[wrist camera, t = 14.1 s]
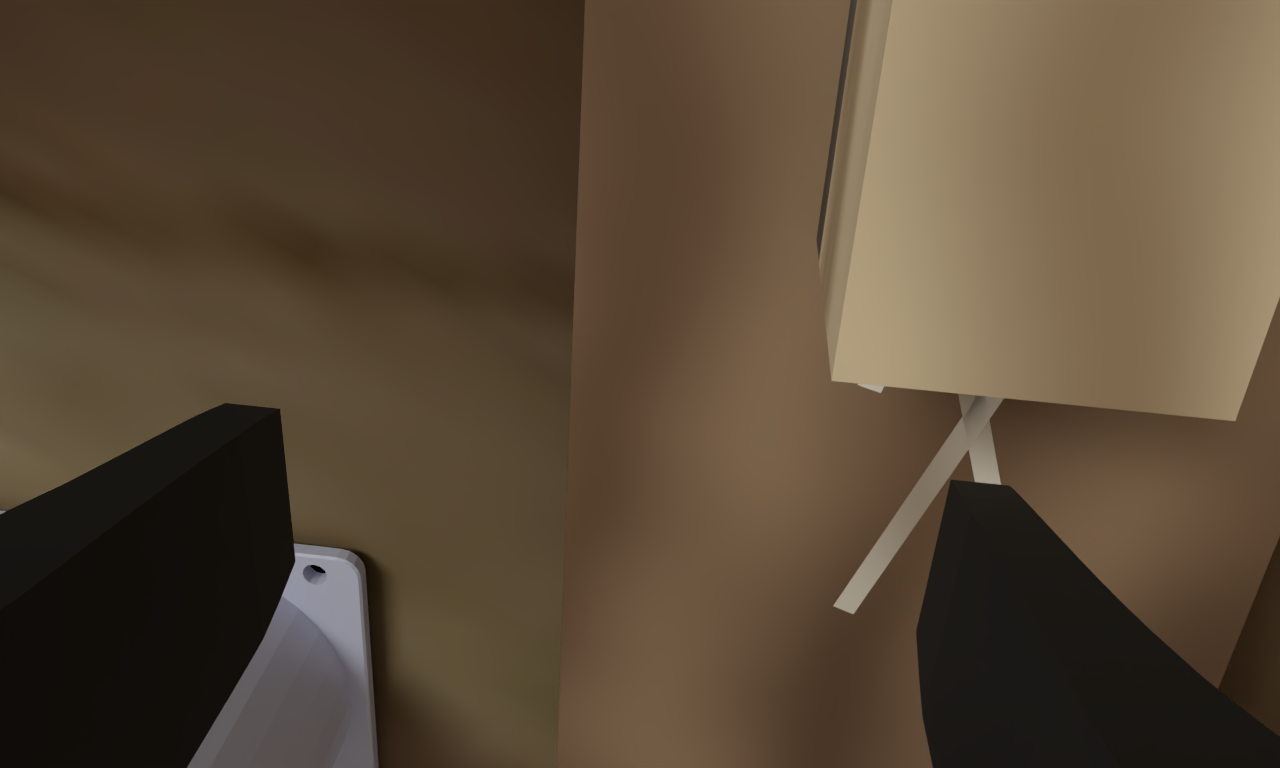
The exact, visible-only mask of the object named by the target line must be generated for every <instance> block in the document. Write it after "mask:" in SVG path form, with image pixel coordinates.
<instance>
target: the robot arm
mask: <svg viewBox="0 0 1280 768" xmlns="http://www.w3.org/2000/svg"><path fill="white" fill-rule="evenodd" d="M310 565H316V566H319V567H321V568H322V569H323V570H324V571H325V572H326V573H319V572H316V571H315V570H314V569H313V568H311V566H310ZM916 639H917V654H918V669H919V683H920V695H921V706H922V717H923V722H924V727H925V732H926V737H927V742H928V747H929V751H930V756H931V761H932V766H933V768H1280V737H1279V736H1277V735H1276V734H1275V733H1273V732H1272V731H1271V730H1269V729H1268V728H1267V727H1266V726H1264V725H1263V724H1262V723H1260V722H1259V721H1258V720H1256V719H1255V718H1254V717H1253V716H1251V715H1250V714H1249V713H1247V712H1246V711H1245V710H1244V709H1242V708H1241V707H1240V706H1238V705H1237V704H1236V703H1234V702H1233V701H1232V700H1231V699H1229V698H1228V697H1227V696H1225V695H1224V694H1223V693H1222V692H1221V691H1219V690H1218V689H1217V688H1216V687H1215V686H1213V685H1212V684H1211V683H1210V682H1209V681H1207V680H1206V679H1205V678H1204V677H1203V676H1201V675H1200V674H1199V673H1198V672H1197V671H1196V670H1195V669H1193V668H1192V667H1191V666H1190V665H1189V664H1188V663H1187V662H1186V661H1185V660H1183V659H1182V658H1181V657H1180V656H1179V655H1178V654H1177V653H1176V652H1175V651H1173V650H1172V649H1171V648H1170V647H1169V646H1168V645H1167V644H1166V643H1164V642H1163V641H1162V640H1161V639H1160V638H1159V637H1158V636H1157V635H1156V634H1154V633H1153V632H1152V631H1151V630H1150V629H1149V628H1148V627H1147V626H1146V625H1145V624H1144V623H1143V622H1142V621H1141V620H1140V619H1139V618H1138V617H1137V616H1136V615H1134V614H1133V613H1132V612H1131V611H1130V610H1129V609H1128V608H1127V607H1126V606H1125V605H1124V604H1123V603H1122V602H1121V601H1120V600H1119V599H1118V598H1117V597H1116V596H1115V595H1114V594H1113V593H1112V592H1111V591H1110V590H1109V589H1108V588H1107V587H1106V586H1105V585H1104V584H1103V583H1102V582H1101V581H1100V580H1099V579H1098V578H1097V577H1096V576H1095V575H1094V574H1093V572H1092V571H1091V570H1090V569H1089V568H1088V567H1087V566H1086V565H1085V564H1084V563H1083V562H1082V561H1081V560H1080V559H1079V558H1078V557H1077V556H1076V555H1075V554H1074V553H1073V551H1072V550H1071V549H1070V548H1069V547H1068V546H1067V545H1066V544H1065V543H1064V542H1063V541H1062V540H1061V539H1060V538H1059V537H1058V535H1057V534H1056V533H1055V532H1054V531H1053V530H1052V529H1051V528H1050V527H1049V526H1048V525H1047V524H1046V523H1045V521H1044V520H1043V519H1042V518H1041V517H1040V516H1039V515H1038V514H1037V513H1036V512H1035V511H1034V510H1033V509H1032V508H1031V506H1030V505H1029V504H1028V503H1027V502H1026V501H1025V500H1024V499H1023V498H1022V497H1021V496H1020V495H1019V494H1018V493H1017V492H1016V491H1015V490H1014V489H1013V488H1012V487H1011V486H1008V485H999V484H989V483H980V482H970V481H961V480H951V481H950V485H949V489H948V494H947V498H946V502H945V507H944V511H943V516H942V520H941V524H940V529H939V533H938V538H937V542H936V546H935V551H934V555H933V559H932V564H931V568H930V573H929V577H928V581H927V586H926V590H925V594H924V599H923V603H922V608H921V612H920V616H919V621H918V625H917V630H916ZM0 768H379V765H378V750H377V735H376V720H375V705H374V690H373V675H372V660H371V645H370V630H369V615H368V600H367V585H366V570H365V567H364V563H363V562H362V560H361V559H360V558H359V557H358V556H357V555H355V554H354V553H352V552H351V551H348V550H344V549H339V548H330V547H321V546H312V545H303V544H294V541H293V532H292V522H291V512H290V502H289V493H288V483H287V473H286V463H285V454H284V444H283V434H282V424H281V415H280V409H276V408H266V407H257V406H247V405H238V404H228V403H225V404H223V405H220V406H218V407H215V408H213V409H210V410H208V411H206V412H204V413H201V414H199V415H197V416H195V417H193V418H191V419H189V420H187V421H185V422H183V423H181V424H179V425H177V426H175V427H173V428H171V429H169V430H167V431H165V432H164V433H162V434H160V435H158V436H156V437H154V438H152V439H150V440H148V441H146V442H144V443H143V444H141V445H139V446H137V447H135V448H133V449H131V450H129V451H127V452H125V453H123V454H121V455H120V456H118V457H116V458H114V459H112V460H110V461H108V462H106V463H104V464H102V465H100V466H98V467H96V468H94V469H93V470H91V471H89V472H87V473H85V474H83V475H81V476H79V477H77V478H75V479H73V480H71V481H69V482H67V483H65V484H63V485H61V486H59V487H57V488H55V489H53V490H51V491H49V492H46V493H44V494H42V495H40V496H38V497H36V498H34V499H32V500H29V501H27V502H25V503H23V504H21V505H19V506H17V507H15V508H13V509H10V510H8V511H0Z"/></svg>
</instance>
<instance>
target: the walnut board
mask: <svg viewBox="0 0 1280 768" xmlns="http://www.w3.org/2000/svg"><path fill="white" fill-rule="evenodd" d="M850 2H851V0H585V20H584V47H583V74H582V101H581V128H580V155H579V182H578V209H577V236H576V263H575V290H574V317H573V344H572V371H571V397H570V424H569V451H568V478H567V505H566V532H565V559H564V586H563V613H562V640H561V667H560V694H559V721H558V748H557V768H933V766H932V761H931V756H930V751H929V747H928V742H927V737H926V732H925V727H924V722H923V717H922V706H921V695H920V683H919V669H918V654H917V639H916V630H917V625H918V621H919V616H920V612H921V608H922V603H923V599H924V594H925V590H926V586H927V581H928V577H929V573H930V568H931V564H932V559H933V555H934V551H935V546H936V542H937V538H938V533H939V529H940V524H941V520H942V516H943V511H944V507H945V502H946V498H947V494H948V489H949V485H950V481H951V480H961V481H970V482H980V483H989V484H999V485H1008V486H1011V487H1012V488H1013V489H1014V490H1015V491H1016V492H1017V493H1018V494H1019V495H1020V496H1021V497H1022V498H1023V499H1024V500H1025V501H1026V502H1027V503H1028V504H1029V505H1030V506H1031V508H1032V509H1033V510H1034V511H1035V512H1036V513H1037V514H1038V515H1039V516H1040V517H1041V518H1042V519H1043V520H1044V521H1045V523H1046V524H1047V525H1048V526H1049V527H1050V528H1051V529H1052V530H1053V531H1054V532H1055V533H1056V534H1057V535H1058V537H1059V538H1060V539H1061V540H1062V541H1063V542H1064V543H1065V544H1066V545H1067V546H1068V547H1069V548H1070V549H1071V550H1072V551H1073V553H1074V554H1075V555H1076V556H1077V557H1078V558H1079V559H1080V560H1081V561H1082V562H1083V563H1084V564H1085V565H1086V566H1087V567H1088V568H1089V569H1090V570H1091V571H1092V572H1093V574H1094V575H1095V576H1096V577H1097V578H1098V579H1099V580H1100V581H1101V582H1102V583H1103V584H1104V585H1105V586H1106V587H1107V588H1108V589H1109V590H1110V591H1111V592H1112V593H1113V594H1114V595H1115V596H1116V597H1117V598H1118V599H1119V600H1120V601H1121V602H1122V603H1123V604H1124V605H1125V606H1126V607H1127V608H1128V609H1129V610H1130V611H1131V612H1132V613H1133V614H1134V615H1136V616H1137V617H1138V618H1139V619H1140V620H1141V621H1142V622H1143V623H1144V624H1145V625H1146V626H1147V627H1148V628H1149V629H1150V630H1151V631H1152V632H1153V633H1154V634H1156V635H1157V636H1158V637H1159V638H1160V639H1161V640H1162V641H1163V642H1164V643H1166V644H1167V645H1168V646H1169V647H1170V648H1171V649H1172V650H1173V651H1175V652H1176V653H1177V654H1178V655H1179V656H1180V657H1181V658H1182V659H1183V660H1185V661H1186V662H1187V663H1188V664H1189V665H1190V666H1191V667H1192V668H1193V669H1195V670H1196V671H1197V672H1198V673H1199V674H1200V675H1201V676H1203V677H1204V678H1205V679H1206V680H1207V681H1209V682H1210V683H1211V684H1212V685H1213V686H1215V687H1216V688H1217V689H1218V688H1219V685H1220V683H1221V680H1222V678H1223V675H1224V673H1225V671H1226V668H1227V666H1228V663H1229V661H1230V658H1231V656H1232V653H1233V651H1234V648H1235V646H1236V643H1237V641H1238V638H1239V636H1240V633H1241V631H1242V628H1243V626H1244V623H1245V621H1246V619H1247V616H1248V614H1249V611H1250V609H1251V606H1252V604H1253V601H1254V599H1255V596H1256V594H1257V591H1258V589H1259V586H1260V584H1261V581H1262V579H1263V576H1264V574H1265V571H1266V569H1267V566H1268V564H1269V562H1270V559H1271V557H1272V554H1273V552H1274V549H1275V547H1276V544H1277V542H1278V539H1279V537H1280V298H1279V301H1278V303H1277V306H1276V309H1275V312H1274V315H1273V317H1272V320H1271V323H1270V326H1269V328H1268V331H1267V334H1266V337H1265V340H1264V342H1263V345H1262V348H1261V351H1260V354H1259V356H1258V359H1257V362H1256V365H1255V367H1254V370H1253V373H1252V376H1251V379H1250V381H1249V384H1248V387H1247V390H1246V393H1245V395H1244V398H1243V401H1242V404H1241V406H1240V409H1239V412H1238V415H1237V418H1236V420H1235V421H1228V420H1218V419H1208V418H1198V417H1188V416H1178V415H1168V414H1158V413H1148V412H1138V411H1128V410H1118V409H1108V408H1098V407H1088V406H1078V405H1068V404H1058V403H1048V402H1038V401H1028V400H1018V399H1008V398H998V397H988V396H978V395H968V394H958V393H948V392H938V391H927V390H917V389H907V388H897V387H887V386H877V385H867V384H857V383H847V382H837V381H831V372H830V362H829V353H828V344H827V334H826V325H825V315H824V306H823V297H822V287H821V278H820V269H819V259H818V250H817V240H816V239H817V232H818V225H819V218H820V211H821V204H822V197H823V190H824V183H825V176H826V169H827V162H828V155H829V148H830V141H831V134H832V127H833V120H834V114H835V107H836V100H837V93H838V86H839V79H840V72H841V65H842V58H843V51H844V44H845V37H846V30H847V23H848V16H849V9H850Z"/></svg>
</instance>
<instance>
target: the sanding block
mask: <svg viewBox="0 0 1280 768" xmlns="http://www.w3.org/2000/svg"><path fill="white" fill-rule="evenodd" d="M816 240H817V250H818V259H819V269H820V278H821V287H822V297H823V306H824V315H825V325H826V334H827V344H828V353H829V362H830V372H831V381H837V382H847V383H857V384H867V385H877V386H887V387H897V388H907V389H917V390H927V391H938V392H948V393H958V394H968V395H978V396H988V397H998V398H1008V399H1018V400H1028V401H1038V402H1048V403H1058V404H1068V405H1078V406H1088V407H1098V408H1108V409H1118V410H1128V411H1138V412H1148V413H1158V414H1168V415H1178V416H1188V417H1198V418H1208V419H1218V420H1228V421H1235V420H1236V418H1237V415H1238V412H1239V409H1240V406H1241V404H1242V401H1243V398H1244V395H1245V393H1246V390H1247V387H1248V384H1249V381H1250V379H1251V376H1252V373H1253V370H1254V367H1255V365H1256V362H1257V359H1258V356H1259V354H1260V351H1261V348H1262V345H1263V342H1264V340H1265V337H1266V334H1267V331H1268V328H1269V326H1270V323H1271V320H1272V317H1273V315H1274V312H1275V309H1276V306H1277V303H1278V301H1279V298H1280V0H851V2H850V9H849V16H848V23H847V30H846V37H845V44H844V51H843V58H842V65H841V72H840V79H839V86H838V93H837V100H836V107H835V114H834V120H833V127H832V134H831V141H830V148H829V155H828V162H827V169H826V176H825V183H824V190H823V197H822V204H821V211H820V218H819V225H818V232H817V239H816Z"/></svg>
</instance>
